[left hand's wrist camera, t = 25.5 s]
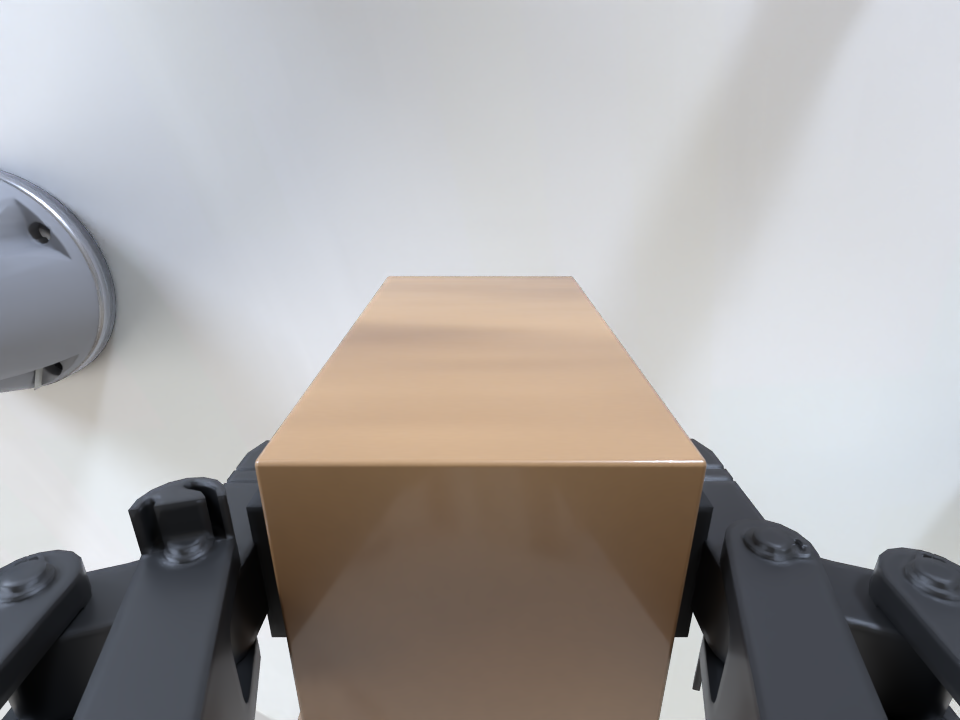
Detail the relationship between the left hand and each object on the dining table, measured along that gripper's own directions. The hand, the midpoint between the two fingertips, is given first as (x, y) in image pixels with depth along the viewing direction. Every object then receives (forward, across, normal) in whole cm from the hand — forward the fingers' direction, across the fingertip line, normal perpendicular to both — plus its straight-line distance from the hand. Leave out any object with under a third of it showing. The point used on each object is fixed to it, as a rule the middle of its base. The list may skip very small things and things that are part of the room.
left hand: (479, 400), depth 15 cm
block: (+3, 0, 0) cm, 3 cm away
